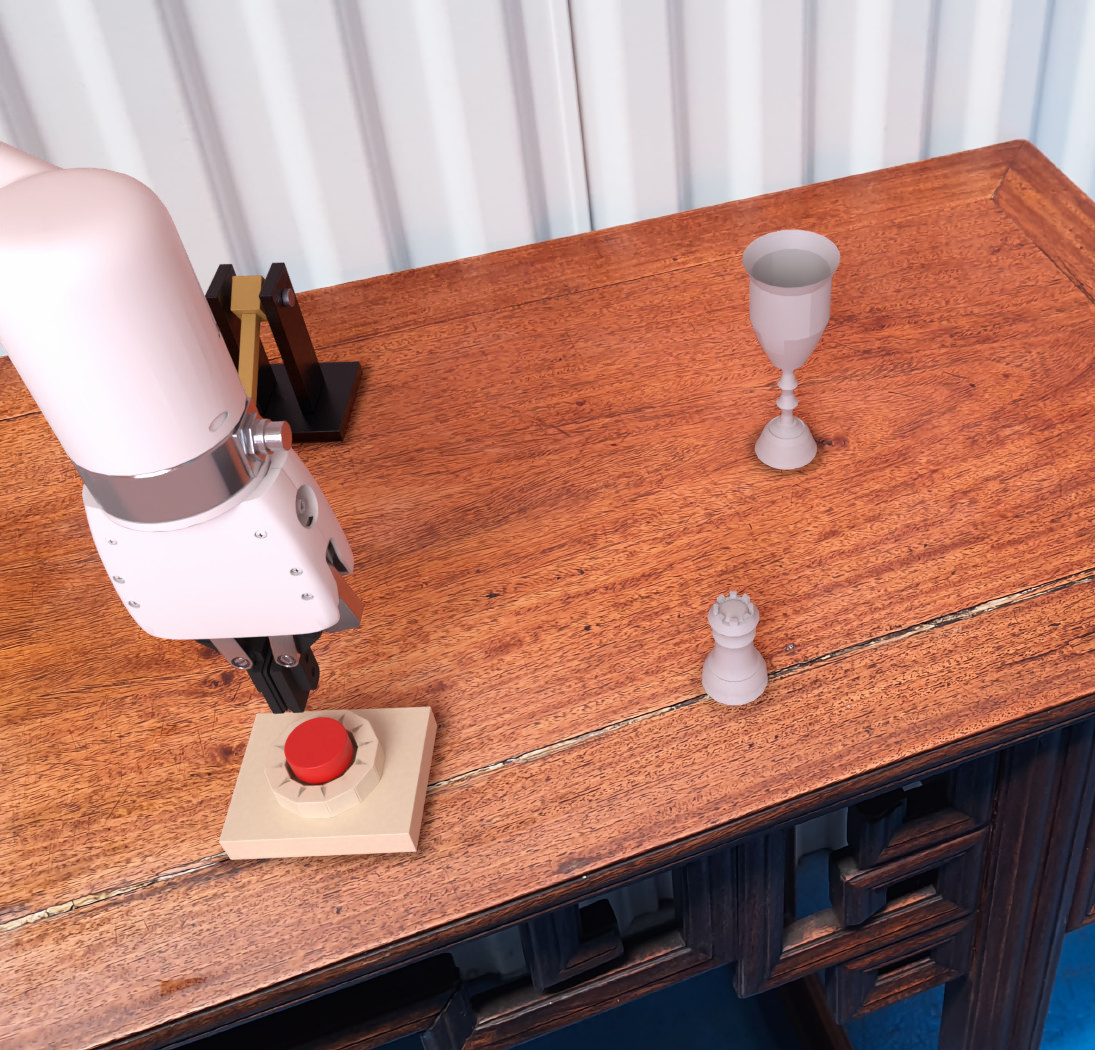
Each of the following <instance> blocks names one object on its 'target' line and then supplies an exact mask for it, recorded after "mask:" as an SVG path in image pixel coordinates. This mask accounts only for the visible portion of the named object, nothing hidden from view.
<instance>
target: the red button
mask: <svg viewBox="0 0 1095 1050" xmlns="http://www.w3.org/2000/svg"><path fill="white" fill-rule="evenodd" d="M284 754H285V757H286V759H287V761H288V763H289V765H290V766H291V768H292V770H293V772H294V774H295V775H296V777H297V778H299V779H300V780H302V781H304V782H306V783H311V784H321V783H325V782H329V781H331V780H333V779H335V778H337V777H338V776H340V775H341V774H342V773H343V772H344V771H345V770H346V769H347V768H348V767H349V765H350V763H351V761H352V758H353V754H354V749H353V745H352V743H351V741H350V738H349V736H348V734H347V732H346V729H345V728H344V726H343V725H342V724H341V723H340V722H339V721H337V720H335V719H332V718H328V717H318V718H313V719H310V720H307V721H305V722H303V723H301V724H300V725H298V726H297V727H296V728H295V729H294V730H293V731H292V732H291V733H290V734H289V736H288V737H287V739H286V742H285V746H284Z"/></svg>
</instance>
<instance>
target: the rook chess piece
mask: <svg viewBox="0 0 1095 1050" xmlns="http://www.w3.org/2000/svg"><path fill="white" fill-rule="evenodd" d="M759 621H760V611H759V609H758V607H757V606H756V604H755V603H753V602H752V601H751V597H750V596H749V595H747V593H743V594H742V595H741V596H740V595H738V591H737V590H729V595H728V596H725V595H724V593H721V594H720V595H718V596H717V597H716V601H715V602H714V603H713V604H712V605H711V606H710V608H709V610H708V612H707V622H708V623H709V626H710V627H711V635H712V637H713V640H714V646H713V648H711V650H710V651H709V653H708V654H707V656H706V657H705V659H704V661H703V664H702V672H701V685H702V688H703V689H704V691H705V693H706V694H707V695H708V696H709V697H710V698H712V699H713V700H714V701H715V702H718V703H721V704H723V705H726V706H743V705H746V704H749V703H751V702H754V701H755V700H757V699H758V698H759V697H760V696H761V695H762V694H763V693H764V691H765V690H766V688H767V686H768V682H769V681H768V680H769V679H768V677H769V676H768V671H767V670H768V669H767V663H766V661H765V659H764V657H763V656H762V653H761V652H760V651H759V650H758V648H757V647H756V646H755V643H754V638H755V637H756V633H757V625H758V624H759Z"/></svg>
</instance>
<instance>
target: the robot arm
mask: <svg viewBox="0 0 1095 1050" xmlns="http://www.w3.org/2000/svg"><path fill="white" fill-rule="evenodd" d="M180 236H181V235H180V234H179V231H178V229H177V226H176V224H175V222H174V219H173V218H172V215H171V214H170V211H169V210H168V208H167V206H166V205H165V204H164V202H163V201H162V200H161V199H160V197H159V196H158V195H157V193H155V191H153V190H152V188H150V187H149V186H148V185H146V184H144V183H143V182H142V181H141V180H139V179H137V178H135V177H133V176H130V175H128V174H126V173H123V172H118V171H114V170H111V169H106V168H98V167H71V168H63V167H60V166H58V165H55V164H53V163H51V162H48V161H46V160H44V159H41V158H39V157H38V156H35V155H32V154H31V153H28V152H26V151H25V150H24V151H23V150H22V149H19V148H17V147H15V146H13V145H11V144H8V143H6V142H4V141H1V140H0V344H1V346H2V348H3V350H4V351H5V353H6V355H7V356H8V358H9V359H10V362H11V364H12V365H13V366H14V368H15V370H16V371H17V373H18V375H19V377H20V378H21V380H22V382H23V384H24V385H25V386H26V388H27V390H28V391H29V393H30V395H31V397H32V399H33V400H34V402H35V403H36V405H37V406H38V409H39V410H40V412H41V413H42V415H43V417H44V418H45V420H46V422H47V424H48V426H50V428H51V430H52V432H53V434H54V435H55V437H56V438H57V439H58V441H59V443H60V445H61V447H62V448H63V450H64V452H65V453H66V455H67V457H68V459H69V460H70V462H71V463H72V465H73V467H74V468H75V470H76V471H77V474H78V476H79V477H80V478H81V481H82V482H83V485H82V493H81V495H82V497H81V498H82V501H83V506H84V511H85V515H86V519H87V523H88V526H89V531H90V533H91V537H92V540H93V543H94V545H95V549H96V551H97V553H98V556H99V558H100V561H101V562H102V565H103V567H104V569H105V572H106V574H107V576H108V577H109V580H110V582H111V584H112V586H113V589H114V590H115V592H116V594H117V595H118V597H119V599H120V601H121V602H122V604H123V606H124V607H125V608H126V610H127V612H128V613H129V615H130V616H131V617H132V619H133V620H134V622H135V623H136V624H137V625H138V626H139V627H140V628H141V629H142V630H143V631H144V632H145V633H147V634H148V635H149V636H152V637H156V638H160V639H166V640H185V641H192V640H193V641H194V642H196V643H198V644H200V645H202V646H204V647H207V648H209V649H211V650H214V651H217V652H218V653H220V654H221V655H222V657H223V658H224V659H225V660H226V662H227V663H228V664H229V665H230V666H231V667H233V668H234V669H238V670H241V671H242V670H243V671H246V672H247V674H248V676H249V678H250V681H252V684H253V685H254V687H255V689H256V691H257V692H258V693H259V694H260V693H261V694H262V696H263V698H264V700H265V702H266V703H267V705H268V707H269V709H270V711H271V713H273V714H284V713H285V712H293V713H303V712H304V711H306V708H307V703H308V700H309V696H310V692H311V691H316V690H317V688H318V685H319V682H320V677H321V670H320V665H319V663H318V661H317V658H316V656H315V654H314V652H313V651H312V648H311V647H312V646H313V645H314V644H315V643H316V642H318V640H320V639H321V637H322V635H323V634H326V633H328V634H329V635H332V634H336V633H340V632H345V631H349V630H353V629H357V628H359V627H360V626H361V623H362V619H363V614H364V609H365V604H364V602H363V600H361V598H360V597H359V595H358V594H357V593H356V592H355V591H354V589H353V588H352V586H350V584H349V583H348V582H347V581H346V580H345V578H344V577H343V575H353V573H354V567H355V557H354V554H353V551H352V548H351V546H350V543H349V540H348V538H347V536H346V534H345V531H344V529H343V528H342V526H341V524H340V522H339V520H338V518H337V515H336V514H335V512H334V510H333V508H332V506H331V505H330V503H329V501H328V499H327V497H326V495H325V494H324V492H323V491H322V488H321V487H320V485H319V483H318V482H317V481H316V479H315V477H314V476H313V474H312V473H311V472H310V470H309V468H308V467H307V466H306V464H305V463H304V461H303V459H301V457H300V456H299V455H298V453H297V452H296V451H295V450H294V449H293V447H292V444H293V443H292V432H291V428H290V425H289V424H288V422H286V421H277V422H272V421H271V420H270V419H264V418H263V417H261V416H260V415H259V412H258V410H257V408H256V405H255V403H254V400H253V398H252V397H247V394H246V392H245V389H244V388H243V385H242V382H241V380H240V378H239V375H238V373H237V371H236V368H235V366H234V363H233V361H232V359H231V356H230V354H229V352H228V349H227V347H226V344H225V342H224V340H223V337H222V335H221V333H220V330H219V328H218V325H217V324H216V321H215V319H214V316H213V314H212V312H211V309H210V307H209V305H208V302H207V300H206V297H205V292H204V290H203V288H202V285H201V284H200V281H199V278H198V276H197V274H196V272H195V269H194V267H193V265H192V262H191V259H190V257H189V255H188V253H187V250H186V247H185V245H184V243H183V240H182V239H181V237H180Z"/></svg>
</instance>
